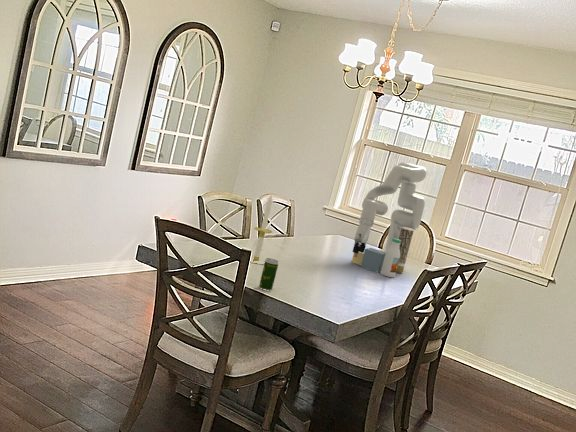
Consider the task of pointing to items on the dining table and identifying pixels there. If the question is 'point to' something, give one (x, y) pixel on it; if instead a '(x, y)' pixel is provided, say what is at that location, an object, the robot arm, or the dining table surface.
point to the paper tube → (404, 247)
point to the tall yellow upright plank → (357, 258)
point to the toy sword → (262, 230)
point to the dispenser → (373, 259)
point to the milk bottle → (391, 259)
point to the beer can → (268, 274)
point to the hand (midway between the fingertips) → (358, 252)
